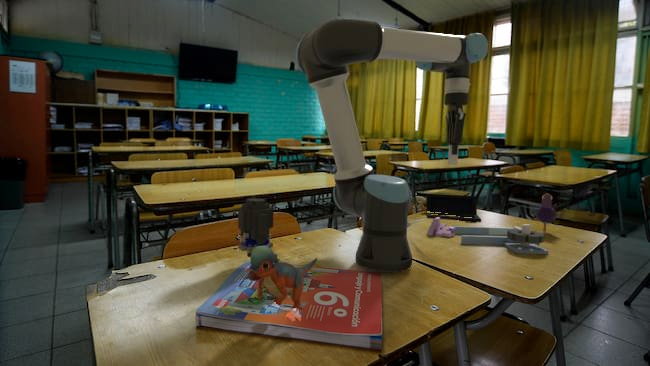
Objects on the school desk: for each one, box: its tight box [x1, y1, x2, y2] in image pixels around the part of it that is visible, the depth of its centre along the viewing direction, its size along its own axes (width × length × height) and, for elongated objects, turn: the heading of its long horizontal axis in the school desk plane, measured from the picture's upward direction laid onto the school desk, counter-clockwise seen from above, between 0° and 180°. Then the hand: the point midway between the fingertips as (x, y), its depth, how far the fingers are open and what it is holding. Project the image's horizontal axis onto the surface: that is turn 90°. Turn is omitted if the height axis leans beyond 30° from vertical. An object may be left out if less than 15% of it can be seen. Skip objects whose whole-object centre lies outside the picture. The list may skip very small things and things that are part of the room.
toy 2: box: [247, 246, 318, 308], centre depth 72 cm, size 19×11×15 cm, turn 120°
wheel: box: [506, 228, 546, 244], centre depth 114 cm, size 10×10×2 cm
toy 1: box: [237, 197, 274, 258], centre depth 100 cm, size 9×9×15 cm
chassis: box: [447, 223, 549, 255], centre depth 122 cm, size 24×25×8 cm
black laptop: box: [425, 193, 482, 223], centre depth 161 cm, size 21×16×10 cm
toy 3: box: [534, 192, 559, 233], centre depth 137 cm, size 11×12×7 cm
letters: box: [426, 217, 456, 238], centre depth 131 cm, size 8×7×6 cm
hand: (452, 164), depth 128 cm, fingers closed
